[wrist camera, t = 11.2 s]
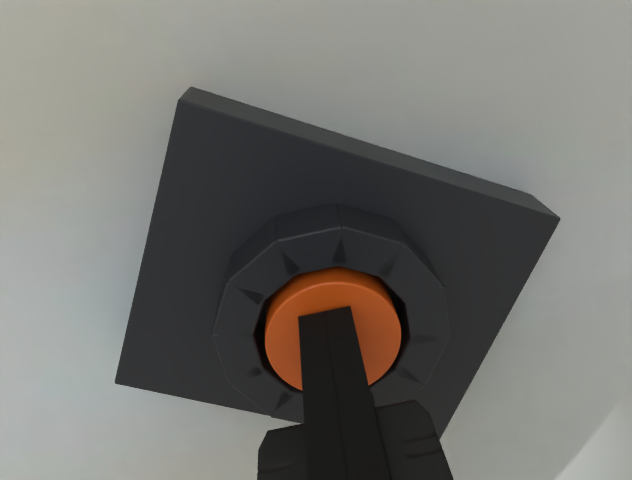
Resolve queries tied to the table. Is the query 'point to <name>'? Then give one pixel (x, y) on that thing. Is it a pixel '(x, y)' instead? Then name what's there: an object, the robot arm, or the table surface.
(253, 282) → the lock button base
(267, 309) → the button
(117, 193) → the table surface
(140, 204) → the table surface
